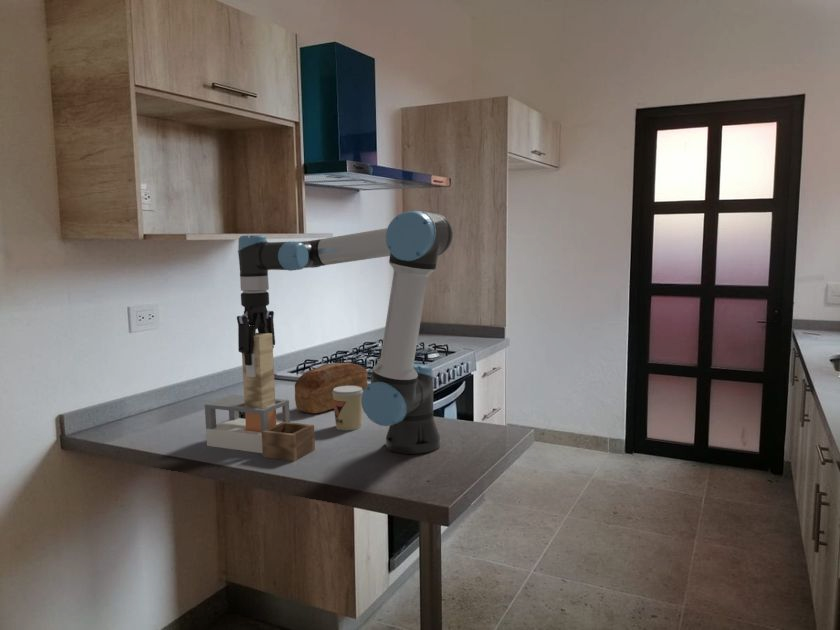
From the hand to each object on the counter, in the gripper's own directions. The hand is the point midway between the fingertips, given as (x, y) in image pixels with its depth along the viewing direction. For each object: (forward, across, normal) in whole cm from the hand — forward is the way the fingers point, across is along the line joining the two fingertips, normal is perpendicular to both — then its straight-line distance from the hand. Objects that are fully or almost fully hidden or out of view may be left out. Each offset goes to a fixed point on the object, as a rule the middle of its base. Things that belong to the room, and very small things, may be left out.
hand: (258, 373), depth 185 cm
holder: (+20, +4, +12) cm, 24 cm away
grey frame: (+20, 0, -4) cm, 21 cm away
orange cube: (+16, 0, 0) cm, 16 cm away
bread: (+21, -45, -3) cm, 50 cm away
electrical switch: (+21, -13, -14) cm, 28 cm away
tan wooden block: (+9, 0, 0) cm, 9 cm away
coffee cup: (+21, -24, +14) cm, 35 cm away
